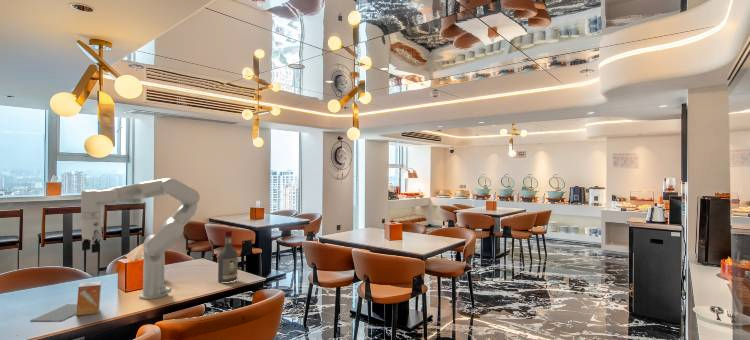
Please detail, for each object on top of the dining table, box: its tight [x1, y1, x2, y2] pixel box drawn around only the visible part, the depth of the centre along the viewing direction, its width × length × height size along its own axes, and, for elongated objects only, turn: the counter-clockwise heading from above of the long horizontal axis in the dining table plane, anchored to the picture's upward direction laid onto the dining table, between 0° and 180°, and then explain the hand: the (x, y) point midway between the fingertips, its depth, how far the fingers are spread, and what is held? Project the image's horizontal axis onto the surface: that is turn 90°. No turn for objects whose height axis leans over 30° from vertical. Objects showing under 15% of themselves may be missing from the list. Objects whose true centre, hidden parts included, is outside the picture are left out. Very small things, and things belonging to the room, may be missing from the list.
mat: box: [30, 303, 77, 322], centre depth 172 cm, size 13×20×1 cm, turn 1°
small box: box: [76, 280, 102, 317], centre depth 172 cm, size 8×6×13 cm
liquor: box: [217, 230, 239, 283], centre depth 224 cm, size 9×9×30 cm
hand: (90, 251), depth 182 cm, fingers open, 9 cm apart
